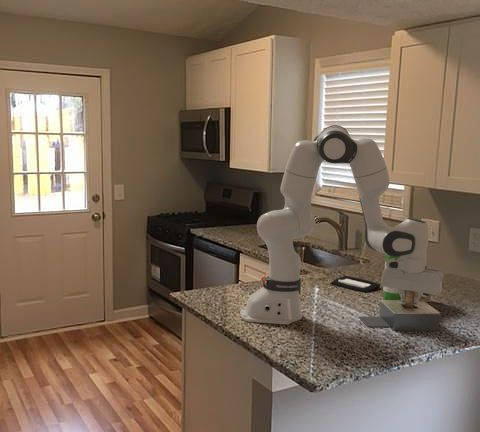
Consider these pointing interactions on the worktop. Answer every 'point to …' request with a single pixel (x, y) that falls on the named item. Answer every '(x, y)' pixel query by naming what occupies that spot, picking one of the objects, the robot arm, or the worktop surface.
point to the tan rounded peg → (409, 299)
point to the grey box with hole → (409, 316)
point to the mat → (374, 321)
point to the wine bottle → (390, 292)
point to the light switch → (356, 284)
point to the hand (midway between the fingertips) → (409, 302)
